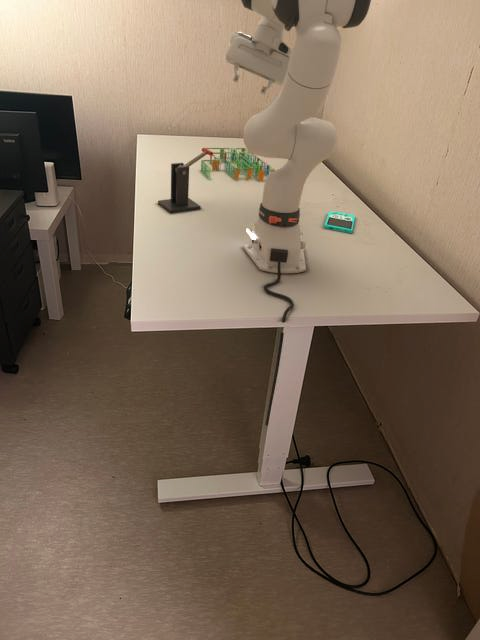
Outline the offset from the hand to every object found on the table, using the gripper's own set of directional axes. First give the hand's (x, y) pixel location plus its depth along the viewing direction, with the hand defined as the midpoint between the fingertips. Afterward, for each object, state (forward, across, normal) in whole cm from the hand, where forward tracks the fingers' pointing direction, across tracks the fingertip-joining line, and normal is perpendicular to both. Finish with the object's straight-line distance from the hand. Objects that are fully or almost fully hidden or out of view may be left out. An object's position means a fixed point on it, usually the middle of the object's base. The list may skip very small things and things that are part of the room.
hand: (249, 87), depth 146 cm
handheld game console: (+26, +47, +14) cm, 56 cm away
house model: (+18, +1, +64) cm, 66 cm away
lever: (+27, -9, +12) cm, 31 cm away
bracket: (+43, -9, +14) cm, 46 cm away
